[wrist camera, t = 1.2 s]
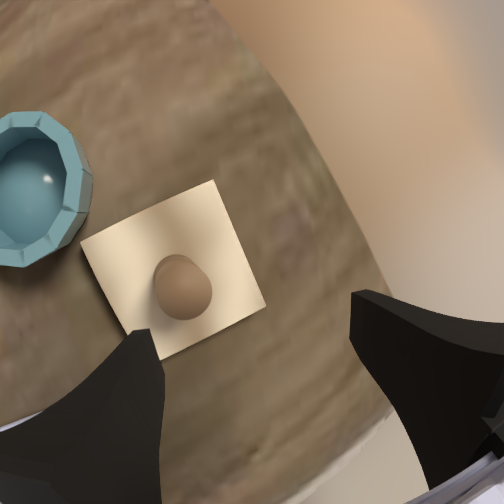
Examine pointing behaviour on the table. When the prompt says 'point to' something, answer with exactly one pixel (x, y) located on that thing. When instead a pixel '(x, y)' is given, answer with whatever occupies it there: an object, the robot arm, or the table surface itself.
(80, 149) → the bowl
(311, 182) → the table surface
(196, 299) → the lid
